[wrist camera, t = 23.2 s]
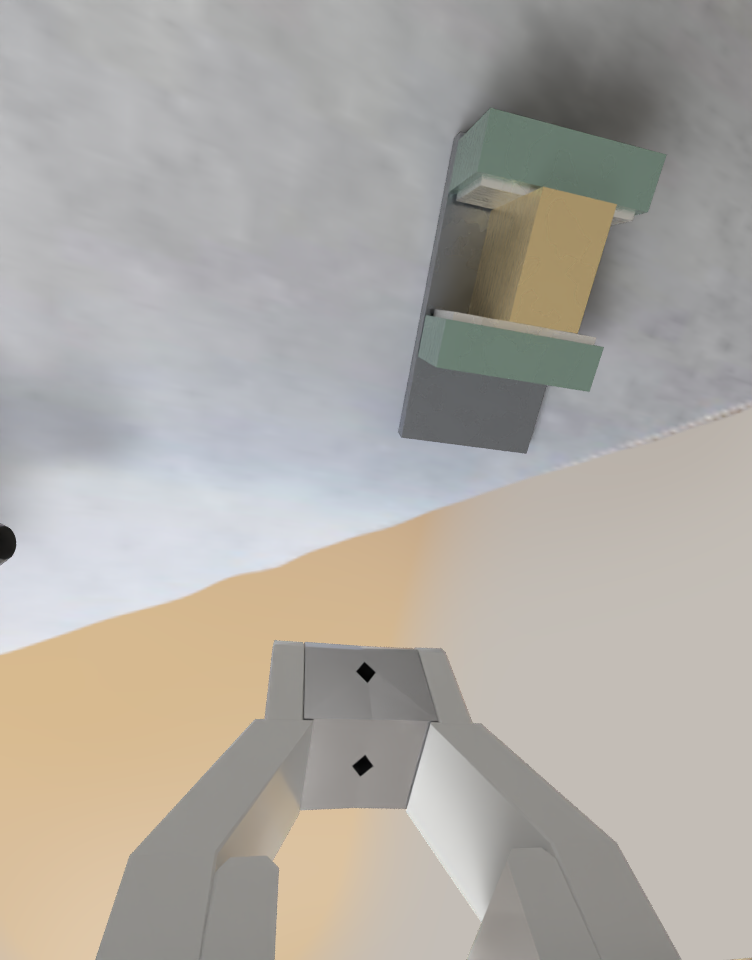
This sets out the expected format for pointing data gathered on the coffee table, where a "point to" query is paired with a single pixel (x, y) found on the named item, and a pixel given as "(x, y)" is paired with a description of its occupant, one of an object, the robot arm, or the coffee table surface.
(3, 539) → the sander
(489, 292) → the brass block
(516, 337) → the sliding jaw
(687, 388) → the coffee table surface
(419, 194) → the coffee table surface
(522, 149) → the vise
